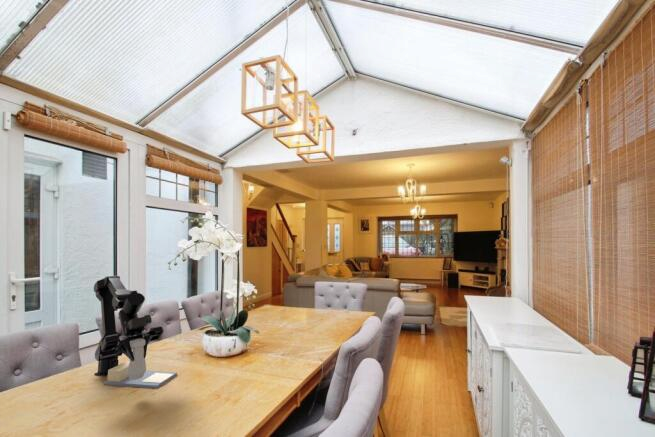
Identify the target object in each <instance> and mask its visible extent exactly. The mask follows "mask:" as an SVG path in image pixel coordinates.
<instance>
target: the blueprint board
mask: <svg viewBox="0 0 655 437" xmlns="http://www.w3.org/2000/svg"><path fill="white" fill-rule="evenodd" d="M129 362H130V359H129V360H128V359H127V361H124V362H122V363H120V364H118V366H116V367H114V368H111V369H109V370H108V376H107V380H105V381H104V382H103V385H106V386H107V385H108V386H118V387H119V386H120V387H131V388H145V389H146V388H148V389H158V388H160V387H161V386H163V385H165V383H167V382H169V381H170V380H171V379H173V378H175V377H177V376H178V372H176V371H160V370H146V372H145V374H144V376H143V377H142V378H140V379H136V380H130V379H129V377H128V374H127V370H128V366H129Z"/></svg>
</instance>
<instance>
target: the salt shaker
mask: <svg viewBox="0 0 655 437" xmlns="http://www.w3.org/2000/svg"><path fill="white" fill-rule="evenodd" d="M145 343H146V342H145V339H135V340H133V341H131V342H130V346H131V348H132V352H133V355H134V361H131V360H130V359H129V360H130V362H129V366H128V370H127V374H128V377H129V379H130V380H136V379H140V378H142V377H143V376H144V374H145V372H146V371H147V364H146V357H145V358H144V347H143V346H144V345H145Z"/></svg>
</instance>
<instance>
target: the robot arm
mask: <svg viewBox="0 0 655 437" xmlns="http://www.w3.org/2000/svg"><path fill="white" fill-rule="evenodd" d="M93 292H94V293H95V297H96V298H97V300H99V301H100V309H101V310H100V313H101V322H102V323H101V324H102V326H101V327H102V335H101V336H102V337H101V338H100V339H99V342H98V346H97V348H96V349H95V351H94V359H95V360H96V361H97V364H98V365H97V372H95V373H94V376H105V377H108V370H109V369H111V368H114V367H116V366H118V365H119V357H121V356H123V355H125V356H126V357H127V358H128V359H129V360H131V361H134V355H133V352H132V351H133V348H132V346H131V342H132V341H133V340H135V339H145V342H146V343H145V345H144V346H143V347H144V358H145V359H146V356H147V350H148V344H150V342H154V341H159V340H160V338H161V337H162V335H163V333H164V332H165V331H164V327H162V325H158V326H153V327H150V329H149V331H147V332H143V331H144V330H145V327H147V326H148V325H150V324H151V323H152V316H151V314H147V315H146V314H145V315H143V316H142V317H139V315H138V313H139V312H140V310H141V308H142V306H143V305H144V303H145V300H146V297H145V295H143V294H142V293H140V292H138V290H129V289H127V288H126V287H125V285H124V284H123V282H122V281H121V277H120V275H107V276H104V278H101V279H99V280H97V281H96V282H95V283H94V285H93ZM115 310H119V311H118V320H119V322H120V326H121V328H120V333H119V332H118V331H117V326H116V312H115ZM121 333H122V334H123V335H122V334H121Z"/></svg>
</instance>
